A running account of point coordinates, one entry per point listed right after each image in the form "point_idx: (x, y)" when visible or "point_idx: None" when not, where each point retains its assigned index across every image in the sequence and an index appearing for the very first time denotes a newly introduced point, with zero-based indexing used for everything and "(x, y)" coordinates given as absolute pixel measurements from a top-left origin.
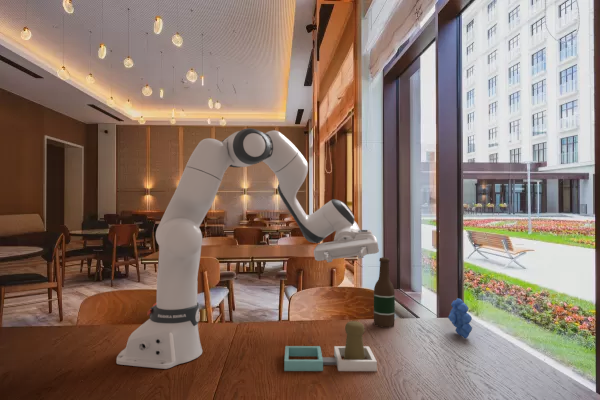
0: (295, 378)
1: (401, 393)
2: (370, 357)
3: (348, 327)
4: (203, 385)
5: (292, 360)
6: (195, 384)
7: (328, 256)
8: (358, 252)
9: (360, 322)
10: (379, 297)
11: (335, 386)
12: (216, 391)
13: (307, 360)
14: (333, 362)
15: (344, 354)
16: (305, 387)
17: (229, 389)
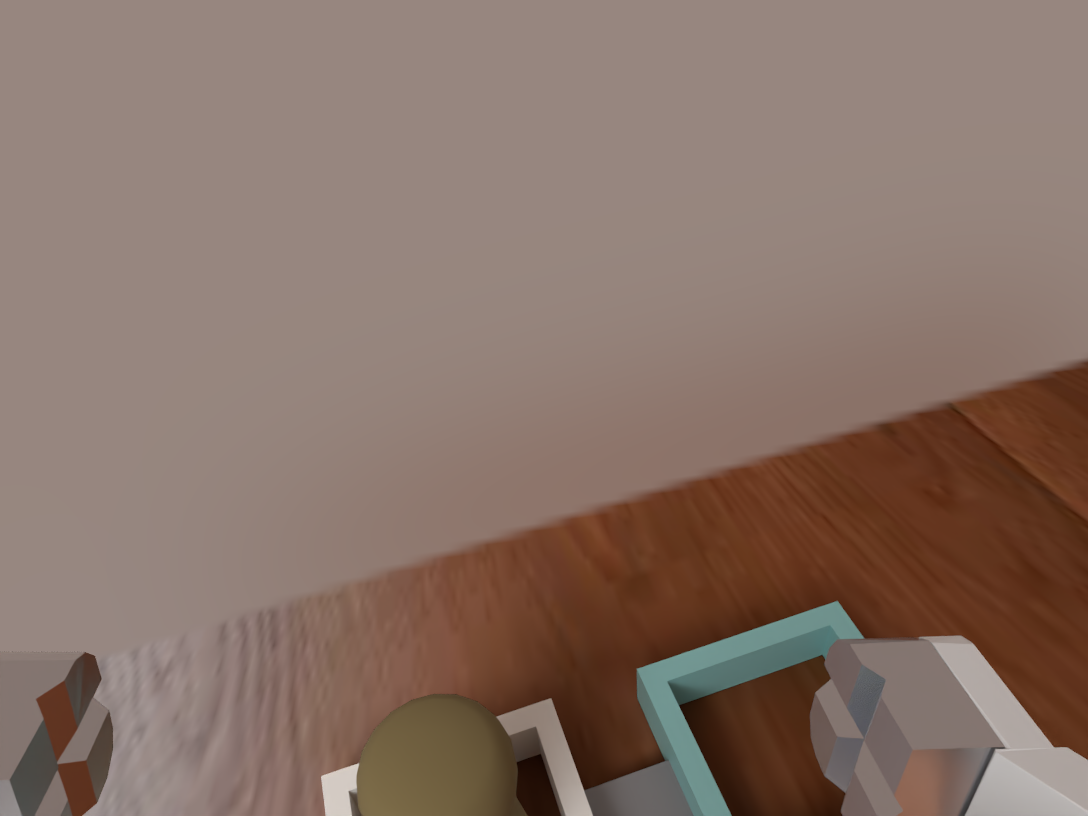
0: (736, 585)
1: (249, 620)
2: None
3: (480, 704)
4: (1043, 428)
5: (802, 622)
6: (1078, 424)
7: (930, 661)
8: (37, 679)
9: (380, 797)
10: None
11: (537, 582)
12: (959, 415)
13: (724, 649)
14: (600, 785)
15: None
16: (659, 536)
17: (928, 437)
